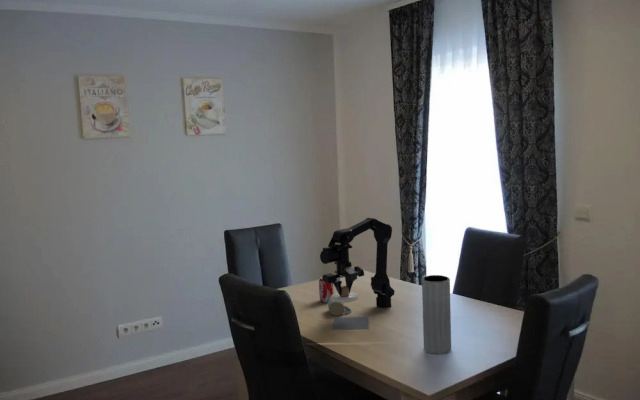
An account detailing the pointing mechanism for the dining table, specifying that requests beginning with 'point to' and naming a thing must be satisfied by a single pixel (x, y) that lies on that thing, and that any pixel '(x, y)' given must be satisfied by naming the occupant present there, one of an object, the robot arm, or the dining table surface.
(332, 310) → the ceramic mug
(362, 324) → the mat
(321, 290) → the soda can
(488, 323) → the dining table surface
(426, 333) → the vase
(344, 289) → the lid
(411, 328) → the dining table surface
